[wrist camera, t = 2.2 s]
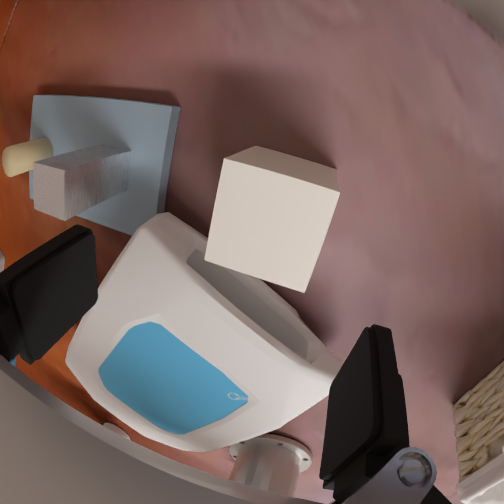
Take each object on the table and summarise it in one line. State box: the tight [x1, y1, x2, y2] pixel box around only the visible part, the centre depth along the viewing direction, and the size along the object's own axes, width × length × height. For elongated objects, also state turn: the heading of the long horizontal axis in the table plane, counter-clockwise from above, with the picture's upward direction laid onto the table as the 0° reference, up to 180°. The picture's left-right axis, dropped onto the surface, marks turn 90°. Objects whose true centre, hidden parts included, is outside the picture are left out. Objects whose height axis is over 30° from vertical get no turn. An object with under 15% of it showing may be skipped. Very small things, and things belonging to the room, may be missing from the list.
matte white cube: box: [204, 146, 340, 293], centre depth 21 cm, size 6×6×8 cm
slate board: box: [2, 95, 181, 236], centre depth 24 cm, size 12×18×6 cm, turn 77°
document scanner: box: [65, 212, 341, 452], centre depth 31 cm, size 21×28×6 cm
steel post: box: [33, 144, 131, 221], centre depth 21 cm, size 4×4×8 cm
